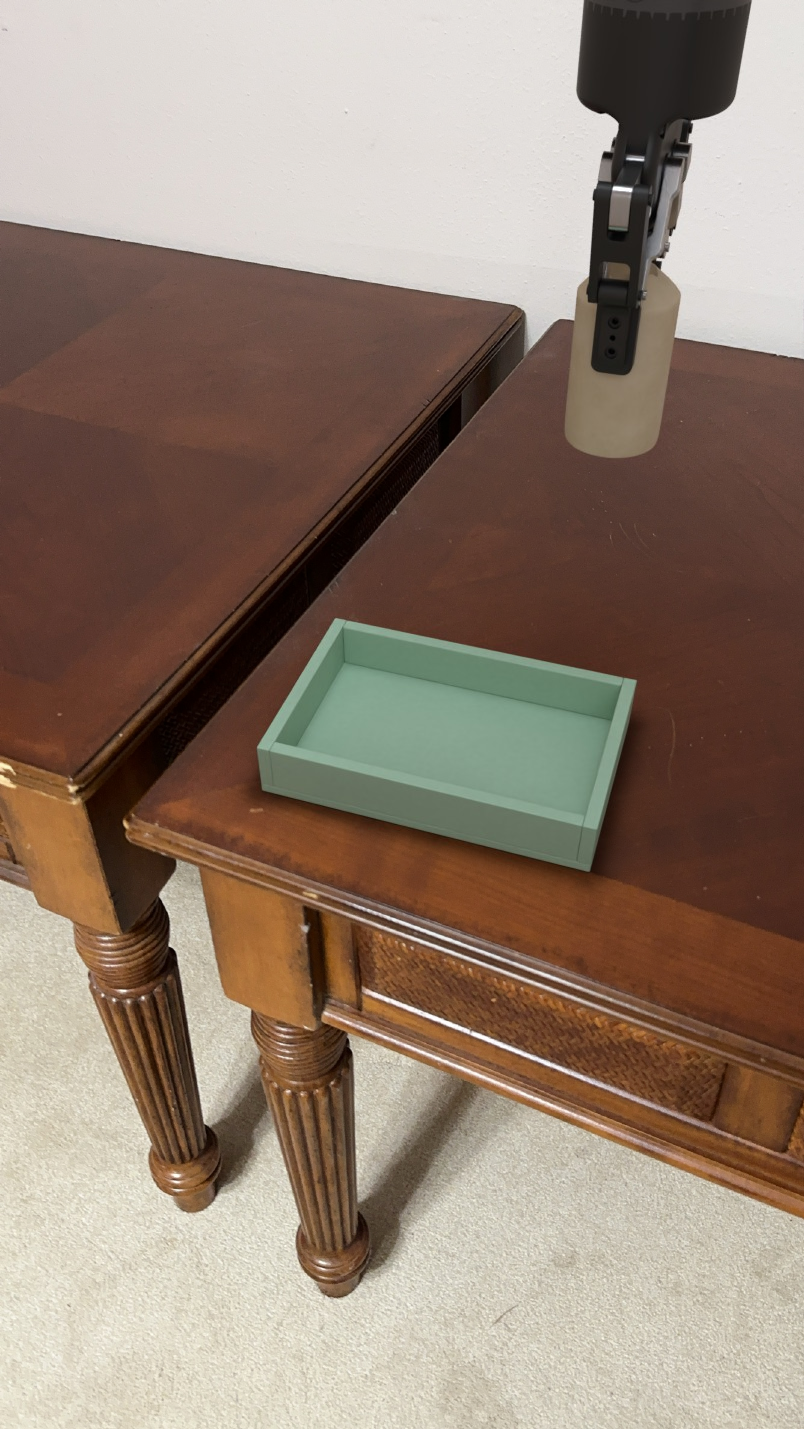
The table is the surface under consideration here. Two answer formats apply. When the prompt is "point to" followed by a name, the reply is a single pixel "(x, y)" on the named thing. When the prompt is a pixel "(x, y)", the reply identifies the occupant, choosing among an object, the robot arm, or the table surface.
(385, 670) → the tray
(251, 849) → the table surface
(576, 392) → the candle
